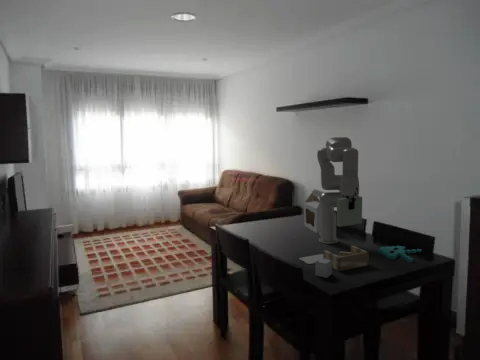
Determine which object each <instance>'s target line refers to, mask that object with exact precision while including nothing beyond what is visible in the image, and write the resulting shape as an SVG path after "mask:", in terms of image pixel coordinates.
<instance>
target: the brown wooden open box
mask: <svg viewBox="0 0 480 360" xmlns="http://www.w3.org/2000/svg"><path fill="white" fill-rule="evenodd" d="M349 252H352V254H351V255H346V256H340V254H334V253H332V252H330V251H329V250H326V249H324V250H323V253H322V254H323V259H328V260H331V264H332V269H334V270H336V271H338V272H342V271H345V270H350V269H356V268H361V267H365V266H369V264H370V263H369V261H370V259H369V258H370V252H369V251H367V250H364V249H362V248H360V247H357V246H355V245H350V251H349Z"/></svg>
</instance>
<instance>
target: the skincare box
mask: <svg viewBox="0 0 480 360" xmlns="http://www.w3.org/2000/svg"><path fill="white" fill-rule="evenodd" d="M314 264H315V266H314V267H315V276H316V277H322V278H324V279H327V278H329V277H330V276H331V275H332V274H333V271H332V270H333V268H332V264H331V260H328V259H323V258H320V259H318V260H317V261H315V263H314Z"/></svg>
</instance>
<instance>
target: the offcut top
mask: <svg viewBox="0 0 480 360" xmlns="http://www.w3.org/2000/svg"><path fill="white" fill-rule="evenodd" d="M351 254H352V252H350V251H339V255H340V256H346V255H351Z"/></svg>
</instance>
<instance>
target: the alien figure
mask: <svg viewBox="0 0 480 360" xmlns="http://www.w3.org/2000/svg"><path fill="white" fill-rule="evenodd" d="M421 251H422V252H423V250H422V249H421V248H420V249H419V248H417V249H406V246H401V245H396V246H395V245H391V246H388V245H386V246H381V247H379V248H378V250H377V252H378V253H379V254H380V255H382V256H383V257H385V258H386V259H391V260H396V258H398V257H401V259H404V261H407V263H411V264H412V263H413V262H414V258H413V257H411V256H409V255H411V254H413V253H416V252H421ZM406 253H408V254H406ZM410 253H411V254H410ZM416 254H417V253H416Z"/></svg>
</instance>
